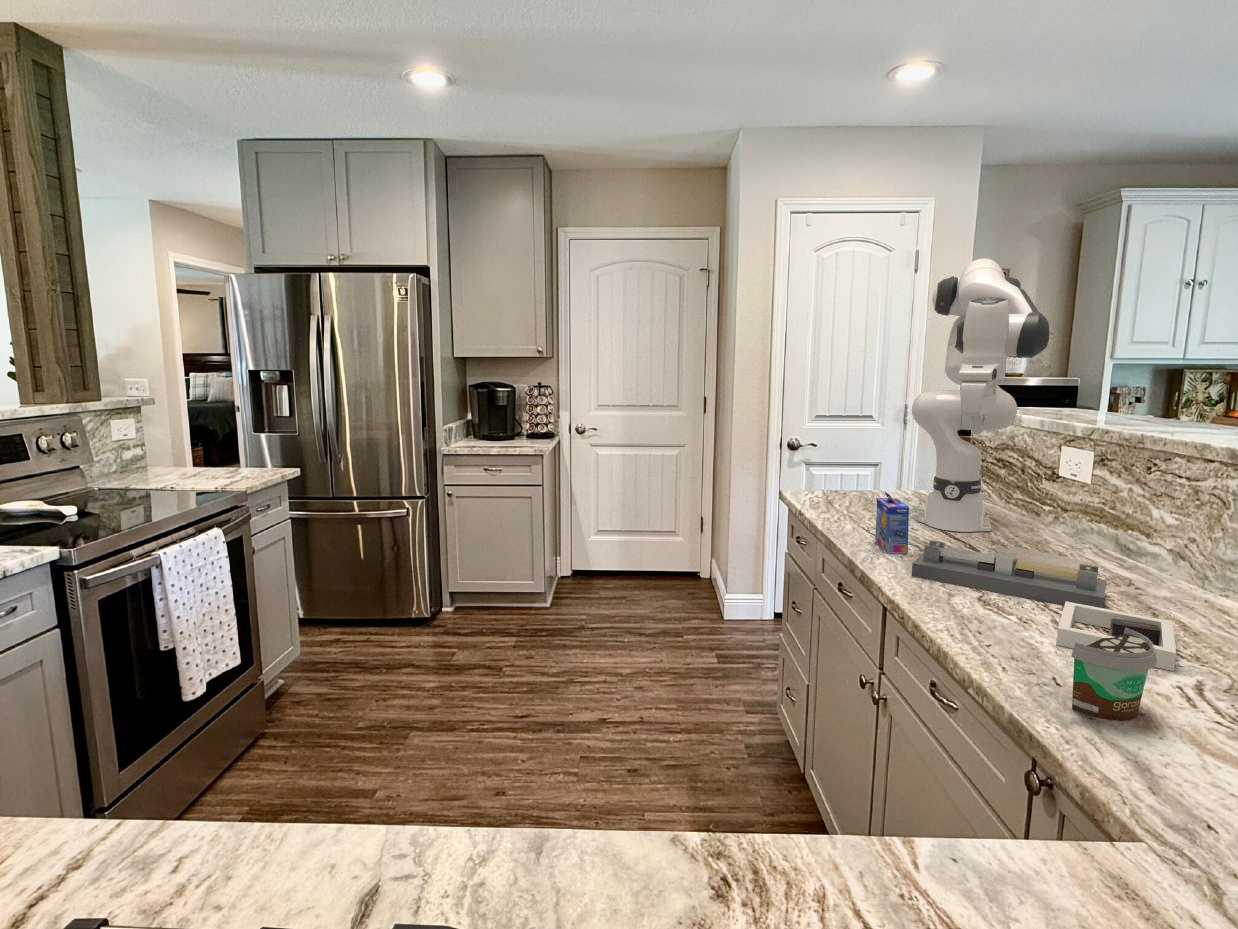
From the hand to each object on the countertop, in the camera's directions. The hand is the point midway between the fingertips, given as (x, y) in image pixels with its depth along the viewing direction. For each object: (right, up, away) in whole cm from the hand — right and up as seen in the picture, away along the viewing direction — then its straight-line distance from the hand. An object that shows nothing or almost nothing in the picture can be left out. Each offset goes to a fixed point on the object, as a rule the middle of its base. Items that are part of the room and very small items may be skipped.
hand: (977, 433), depth 143 cm
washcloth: (+17, -32, +3) cm, 36 cm away
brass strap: (+8, -30, -14) cm, 34 cm away
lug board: (+1, -33, -8) cm, 34 cm away
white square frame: (+3, -37, -35) cm, 51 cm away
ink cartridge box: (-12, -29, +19) cm, 36 cm away
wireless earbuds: (+8, -38, -35) cm, 52 cm away
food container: (-13, -41, -57) cm, 71 cm away
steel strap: (-6, -28, -4) cm, 29 cm away
